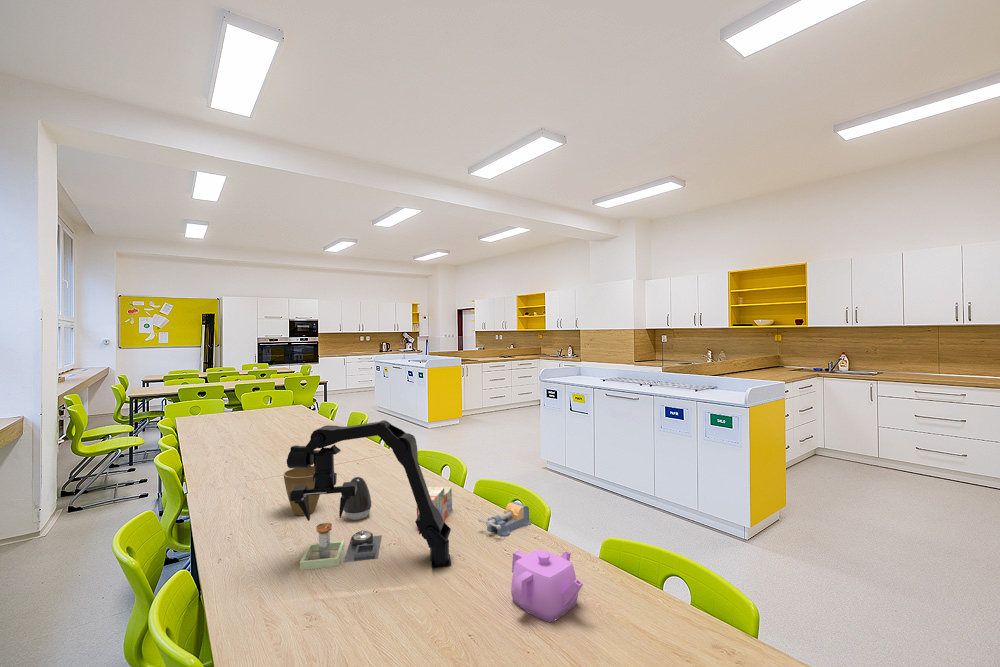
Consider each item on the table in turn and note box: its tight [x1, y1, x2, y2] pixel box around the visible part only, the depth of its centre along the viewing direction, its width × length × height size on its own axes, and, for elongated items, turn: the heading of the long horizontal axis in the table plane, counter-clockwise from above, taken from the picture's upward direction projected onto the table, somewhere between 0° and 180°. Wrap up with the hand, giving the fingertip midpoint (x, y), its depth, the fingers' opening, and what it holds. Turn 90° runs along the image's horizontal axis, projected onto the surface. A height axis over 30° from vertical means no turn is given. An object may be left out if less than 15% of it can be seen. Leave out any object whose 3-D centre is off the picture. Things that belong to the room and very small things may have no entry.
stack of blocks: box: [416, 486, 453, 531], centre depth 164 cm, size 21×6×12 cm, turn 169°
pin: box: [315, 522, 333, 559], centre depth 136 cm, size 4×4×10 cm
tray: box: [299, 540, 345, 571], centre depth 136 cm, size 12×11×3 cm
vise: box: [477, 501, 531, 538], centre depth 158 cm, size 18×10×7 cm, turn 136°
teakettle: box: [510, 548, 584, 623], centre depth 114 cm, size 17×17×12 cm
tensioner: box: [343, 530, 383, 563], centre depth 142 cm, size 16×10×4 cm, turn 11°
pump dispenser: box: [343, 476, 372, 521], centre depth 169 cm, size 10×10×15 cm
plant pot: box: [283, 465, 321, 516], centre depth 175 cm, size 15×15×16 cm
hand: (324, 518), depth 136 cm, fingers open, 9 cm apart
